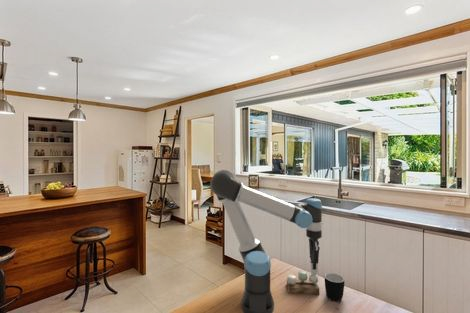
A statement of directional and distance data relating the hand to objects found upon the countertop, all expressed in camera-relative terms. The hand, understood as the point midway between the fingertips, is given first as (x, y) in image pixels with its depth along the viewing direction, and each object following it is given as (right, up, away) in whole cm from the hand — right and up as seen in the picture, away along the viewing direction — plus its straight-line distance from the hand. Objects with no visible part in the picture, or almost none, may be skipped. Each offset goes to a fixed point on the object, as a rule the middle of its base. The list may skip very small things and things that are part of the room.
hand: (313, 274), depth 128 cm
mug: (+8, -8, -5) cm, 13 cm away
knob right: (0, -6, 0) cm, 6 cm away
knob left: (-11, -7, +1) cm, 13 cm away
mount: (-6, -8, +1) cm, 10 cm away
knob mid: (-6, -5, +1) cm, 7 cm away
